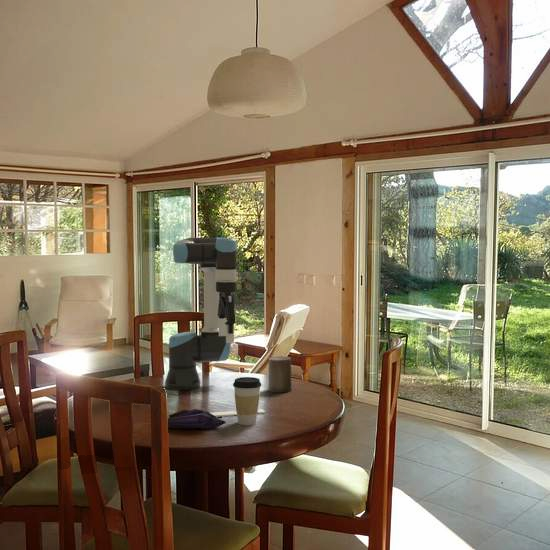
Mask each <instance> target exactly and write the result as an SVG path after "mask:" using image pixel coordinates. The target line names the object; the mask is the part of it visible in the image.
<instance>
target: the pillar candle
mask: <svg viewBox="0 0 550 550" xmlns="http://www.w3.org/2000/svg"><path fill="white" fill-rule="evenodd" d="M268 391H270V392H272V393H288V392H287V391H289V392H291V391H292V358H291V357H290V356H285V355H284V356H282V355H278V356H271V357H268Z"/></svg>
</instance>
